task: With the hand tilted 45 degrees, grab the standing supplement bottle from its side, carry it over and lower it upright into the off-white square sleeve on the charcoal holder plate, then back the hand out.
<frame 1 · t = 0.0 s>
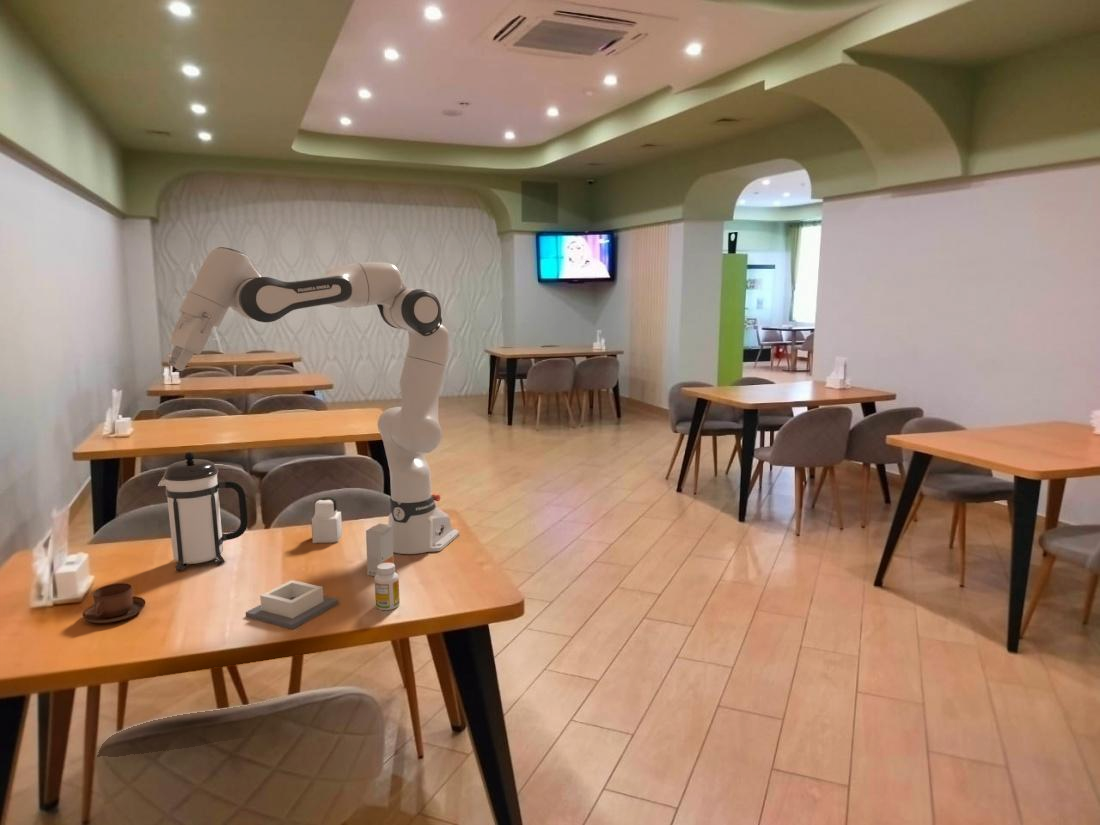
hand: (174, 367, 159), 54 cm above the table, tool tilted 30°, fingers open, 8 cm apart
supplement bottle: (387, 606, 163), on the table
skincare box: (381, 572, 182), on the table
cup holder: (293, 609, 161), on the table
coffee press: (204, 561, 191), on the table
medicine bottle: (327, 539, 207), on the table
cup and saucer: (115, 616, 159), on the table
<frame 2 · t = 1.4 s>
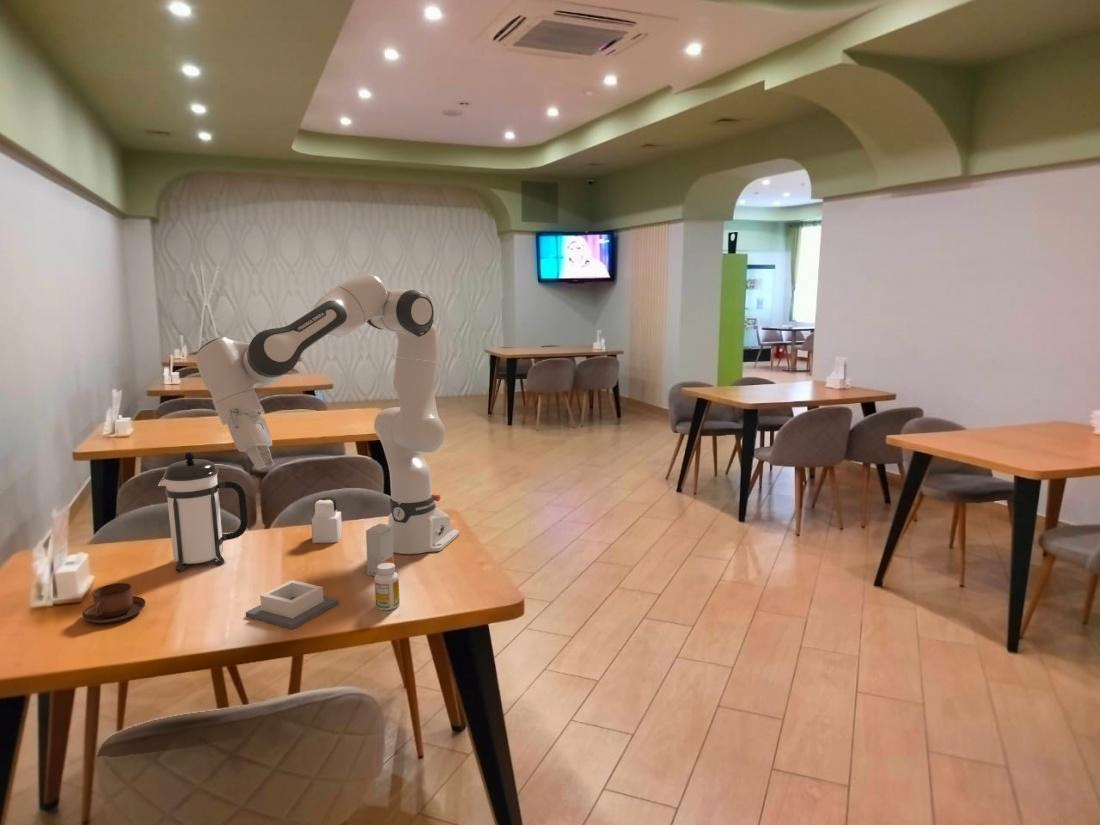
hand: (265, 467, 156), 33 cm above the table, tool tilted 25°, fingers open, 8 cm apart
nothing on the table moved.
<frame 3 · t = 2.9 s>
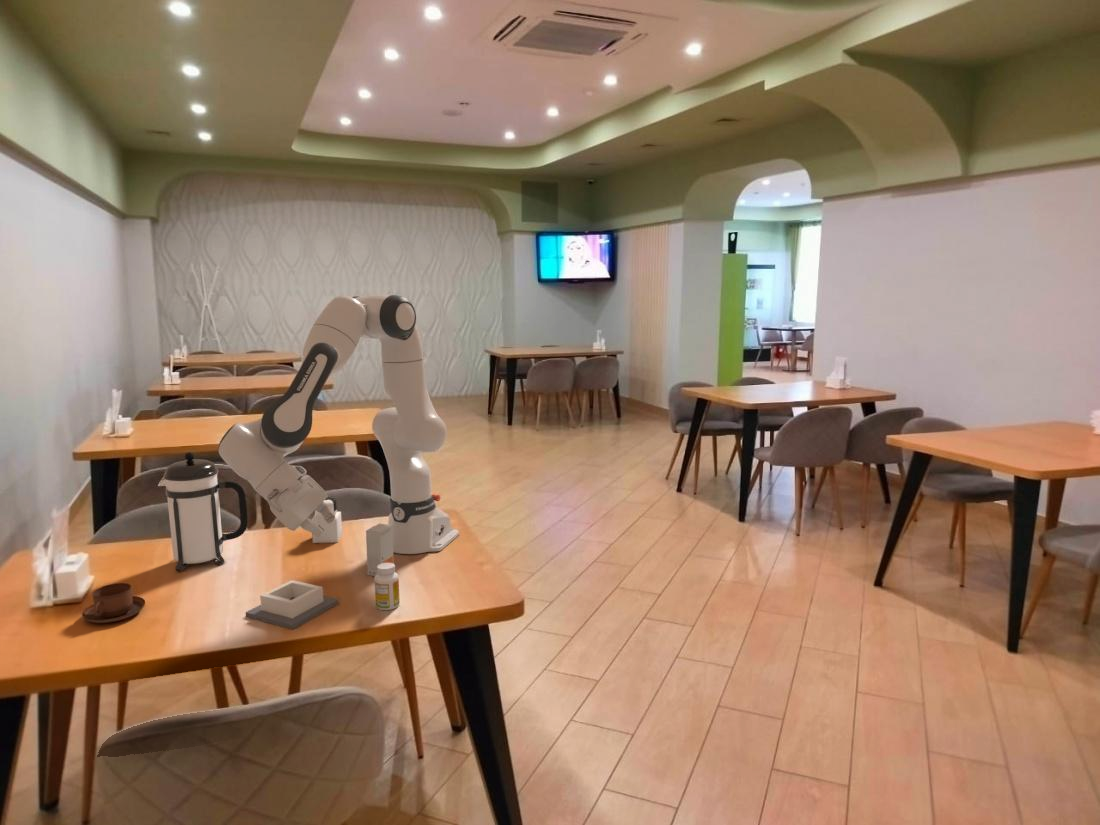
hand: (327, 527, 159), 19 cm above the table, tool tilted 45°, fingers open, 8 cm apart
nothing on the table moved.
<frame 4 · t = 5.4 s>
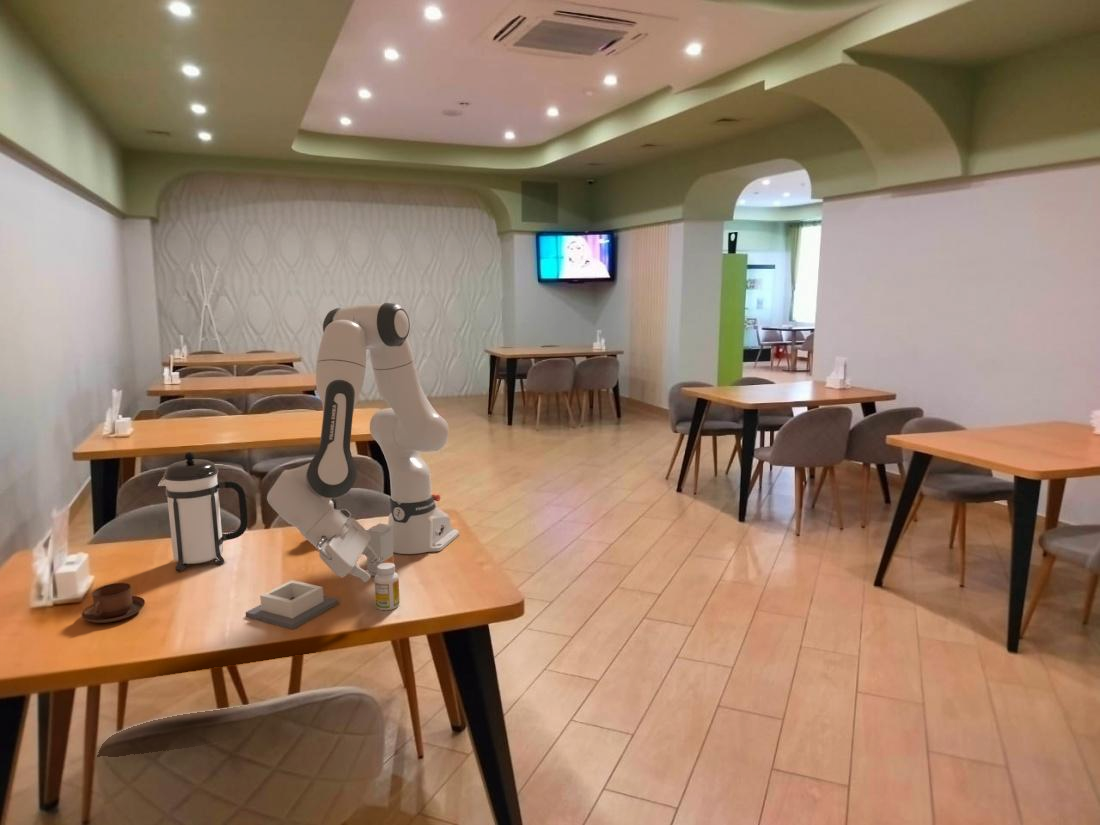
hand: (373, 570, 161), 9 cm above the table, tool tilted 45°, fingers open, 8 cm apart
nothing on the table moved.
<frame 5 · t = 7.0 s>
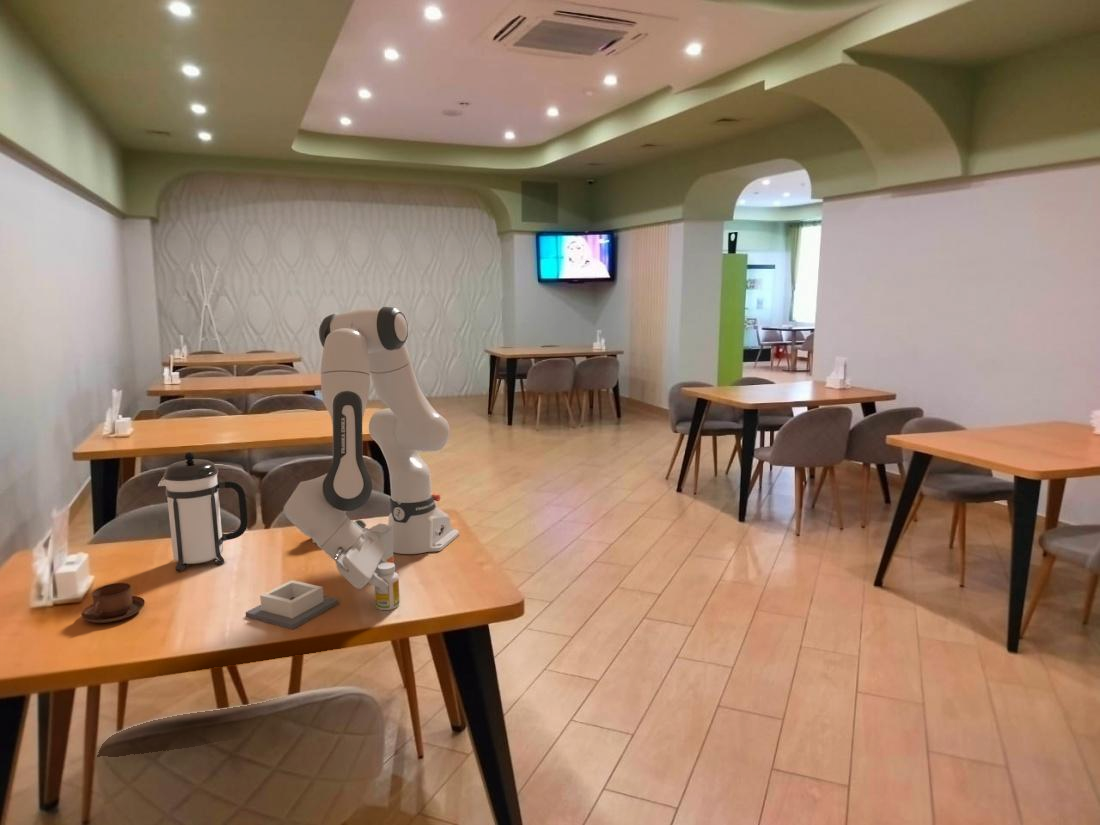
hand: (389, 581, 162), 6 cm above the table, tool tilted 45°, fingers closed on supplement bottle, 5 cm apart
supplement bottle: (387, 606, 163), on the table, touching gripper
everything else where it was.
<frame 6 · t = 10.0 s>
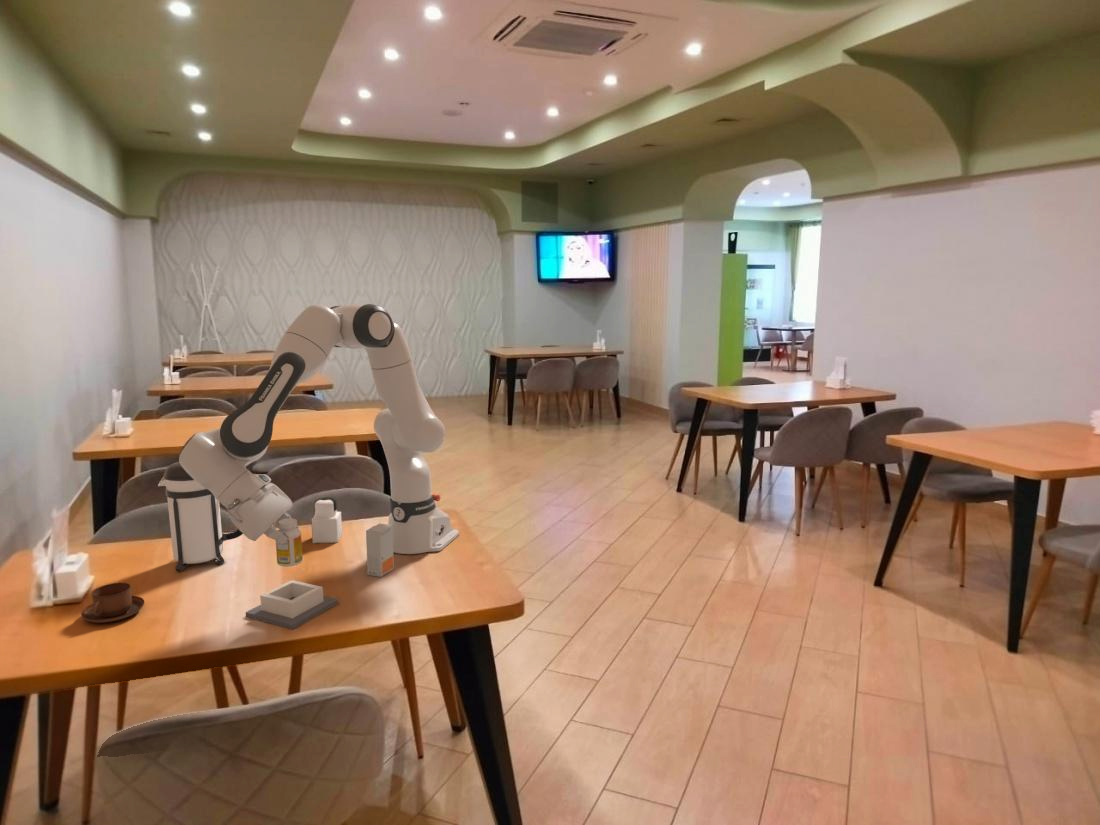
hand: (291, 536, 158), 18 cm above the table, tool tilted 45°, fingers closed on supplement bottle, 5 cm apart
supplement bottle: (290, 563, 159), point 11 cm above the table, touching gripper
everything else where it was.
when the fingers open (9 cm above the table, at t = 12.1 s): supplement bottle drops 1 cm, resting on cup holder.
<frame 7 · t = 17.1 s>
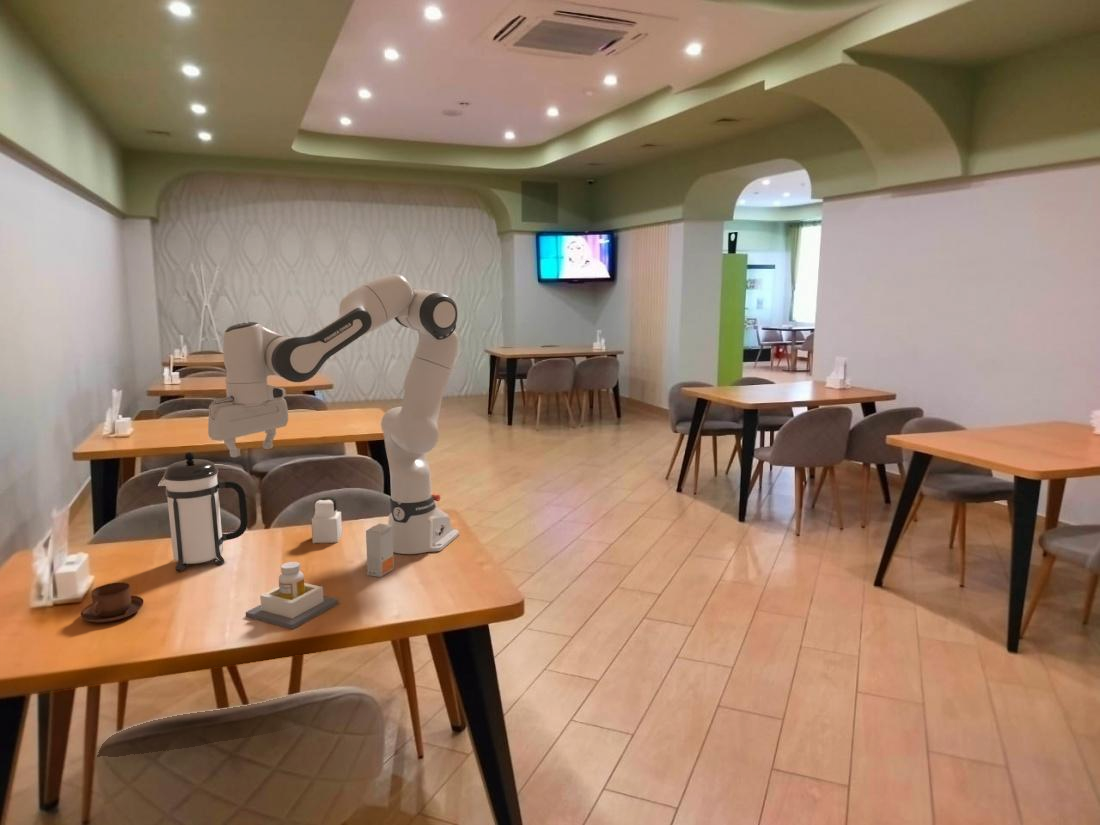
hand: (252, 452, 166), 34 cm above the table, tool pointing down, fingers open, 8 cm apart
supplement bottle: (293, 606, 161), point 1 cm above the table, touching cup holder
everything else where it was.
at the end: supplement bottle 0.1 cm off-centre on the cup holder, point 0.8 cm above the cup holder's base; supplement bottle tilted 0°; the gripper is holding nothing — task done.
